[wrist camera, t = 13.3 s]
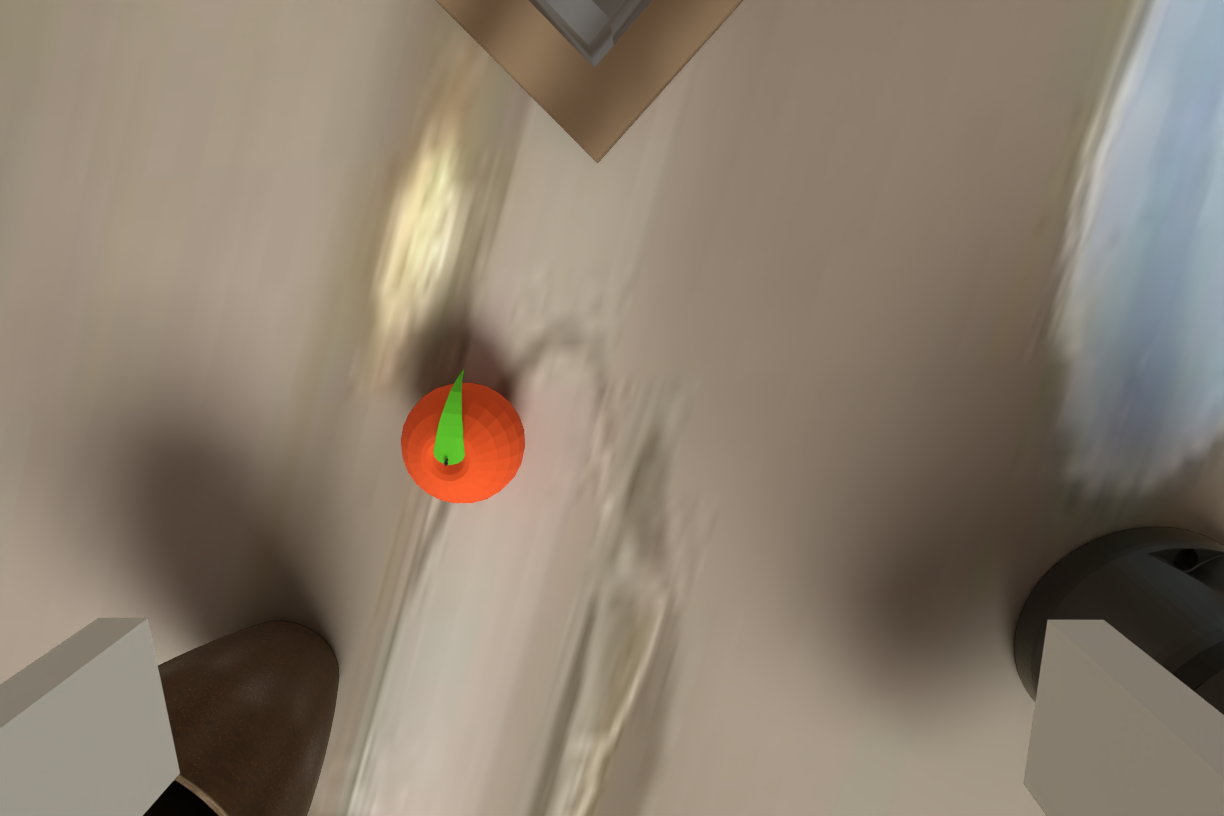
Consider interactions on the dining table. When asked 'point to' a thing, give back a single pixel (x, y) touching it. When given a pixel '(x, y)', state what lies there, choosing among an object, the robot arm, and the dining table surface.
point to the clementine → (463, 442)
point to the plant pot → (249, 722)
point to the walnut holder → (592, 54)
